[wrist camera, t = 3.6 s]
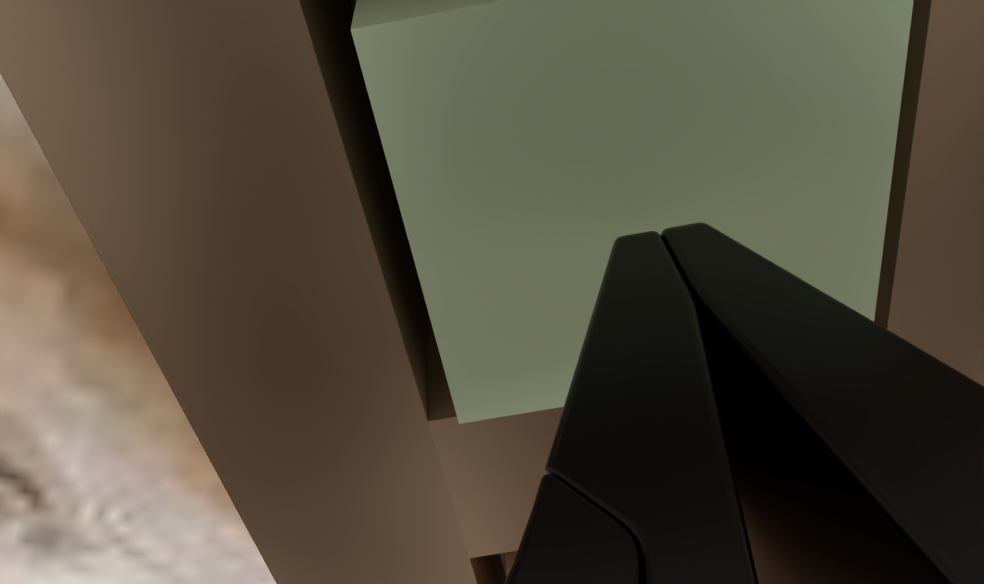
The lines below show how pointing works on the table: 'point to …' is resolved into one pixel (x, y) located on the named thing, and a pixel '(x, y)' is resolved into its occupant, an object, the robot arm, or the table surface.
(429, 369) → the key console
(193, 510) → the table surface
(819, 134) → the pale green square block
